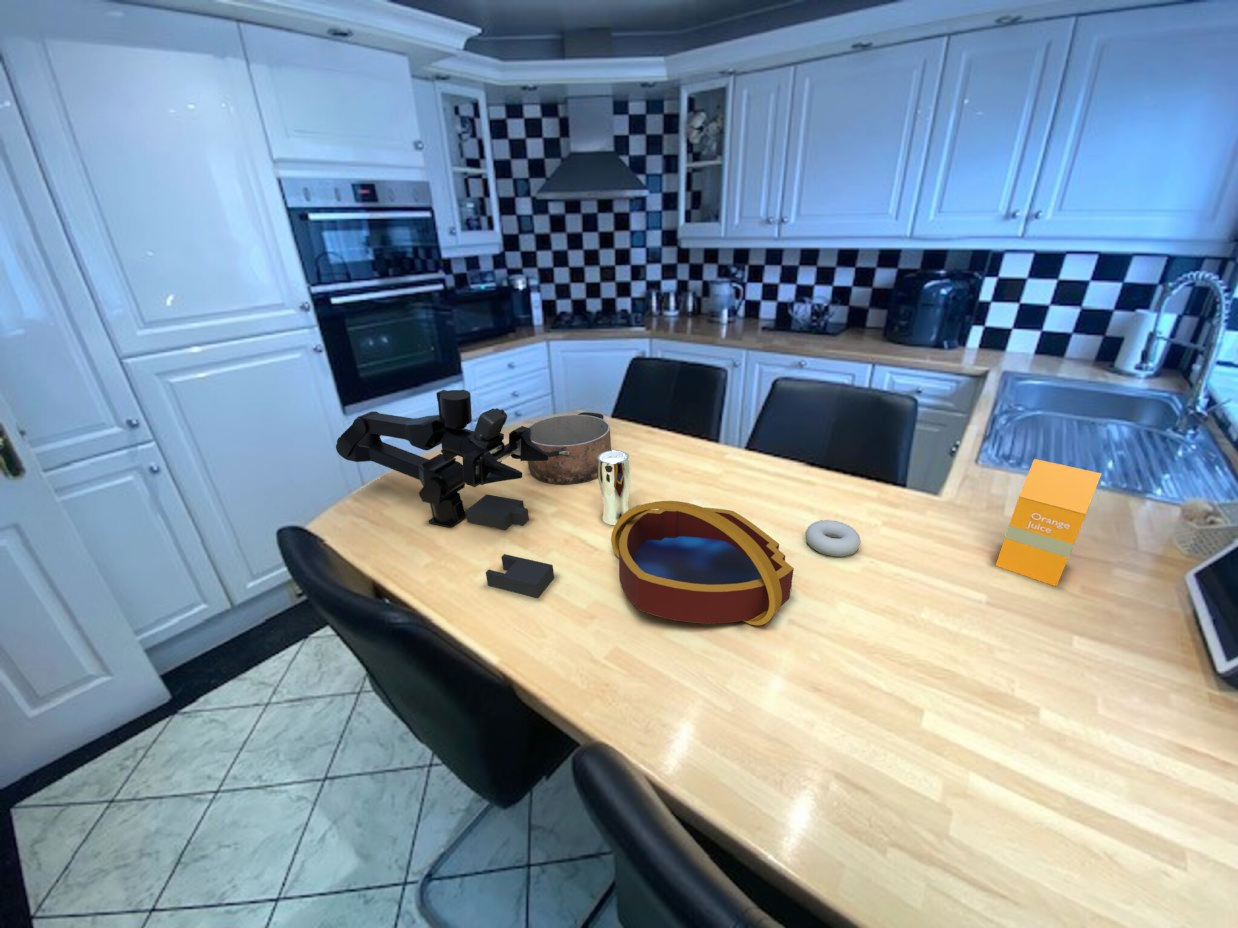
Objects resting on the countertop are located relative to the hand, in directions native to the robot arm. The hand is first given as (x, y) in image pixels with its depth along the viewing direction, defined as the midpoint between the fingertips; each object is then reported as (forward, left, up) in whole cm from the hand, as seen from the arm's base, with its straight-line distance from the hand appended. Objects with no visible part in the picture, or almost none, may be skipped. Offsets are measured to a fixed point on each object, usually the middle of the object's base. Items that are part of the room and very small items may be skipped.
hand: (535, 466), depth 97 cm
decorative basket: (+32, -3, -18) cm, 36 cm away
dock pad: (-14, +5, -17) cm, 23 cm away
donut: (+55, +17, -18) cm, 60 cm away
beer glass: (+11, +13, -18) cm, 24 cm away
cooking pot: (-11, +34, -18) cm, 40 cm away
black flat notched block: (+3, -13, -17) cm, 22 cm away
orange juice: (+88, +21, -18) cm, 92 cm away
